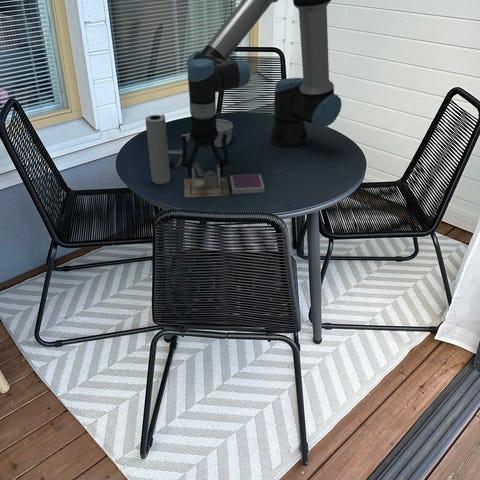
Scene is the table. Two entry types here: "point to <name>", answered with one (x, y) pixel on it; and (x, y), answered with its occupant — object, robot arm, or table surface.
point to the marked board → (205, 189)
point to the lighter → (207, 177)
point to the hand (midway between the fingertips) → (206, 185)
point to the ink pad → (246, 184)
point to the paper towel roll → (158, 148)
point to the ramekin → (223, 127)
